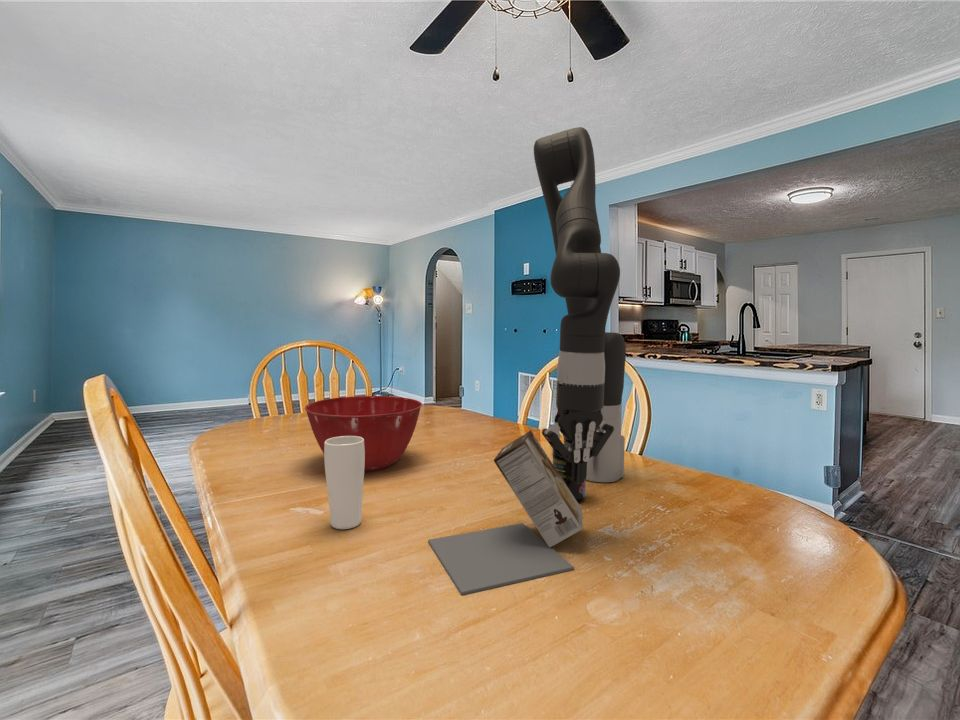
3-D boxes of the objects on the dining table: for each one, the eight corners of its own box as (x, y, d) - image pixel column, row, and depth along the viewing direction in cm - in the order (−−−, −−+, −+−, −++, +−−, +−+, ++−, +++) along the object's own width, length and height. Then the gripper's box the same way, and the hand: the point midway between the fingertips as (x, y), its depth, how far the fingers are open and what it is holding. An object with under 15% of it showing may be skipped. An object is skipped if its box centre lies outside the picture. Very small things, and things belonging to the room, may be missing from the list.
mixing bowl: (445, 458, 122) (444, 400, 121) (363, 491, 98) (362, 418, 97) (368, 444, 137) (367, 392, 136) (281, 469, 113) (279, 406, 112)
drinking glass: (373, 519, 84) (372, 437, 83) (351, 535, 77) (349, 446, 76) (341, 514, 86) (339, 434, 85) (317, 529, 80) (315, 443, 78)
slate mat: (522, 525, 81) (522, 523, 81) (574, 569, 66) (574, 566, 66) (428, 542, 75) (428, 539, 75) (461, 595, 60) (461, 592, 60)
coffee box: (551, 527, 80) (500, 448, 82) (583, 509, 79) (531, 429, 81) (548, 549, 71) (492, 459, 73) (584, 529, 70) (526, 438, 72)
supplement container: (579, 507, 89) (580, 453, 88) (546, 500, 93) (547, 449, 92) (590, 496, 95) (591, 446, 94) (558, 490, 98) (559, 441, 98)
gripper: (600, 373, 81) (595, 469, 83) (533, 377, 76) (530, 479, 78) (629, 380, 74) (623, 485, 76) (557, 385, 69) (553, 496, 71)
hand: (576, 481), depth 77 cm, fingers closed
